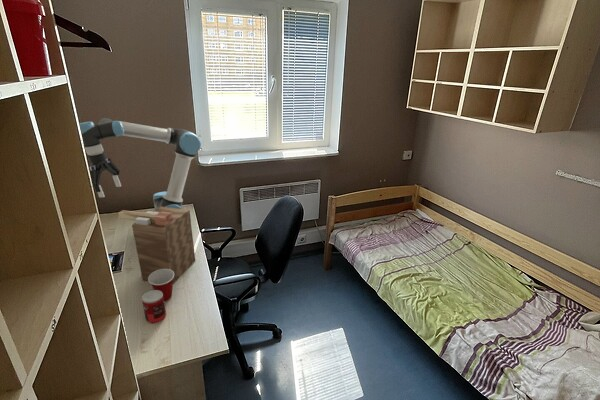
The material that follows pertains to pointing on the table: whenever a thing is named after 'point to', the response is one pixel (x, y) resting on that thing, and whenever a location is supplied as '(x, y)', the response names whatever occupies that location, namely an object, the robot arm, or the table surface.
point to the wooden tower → (165, 244)
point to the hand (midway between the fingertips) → (110, 191)
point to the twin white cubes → (144, 219)
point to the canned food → (154, 306)
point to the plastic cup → (162, 282)
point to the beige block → (158, 219)
